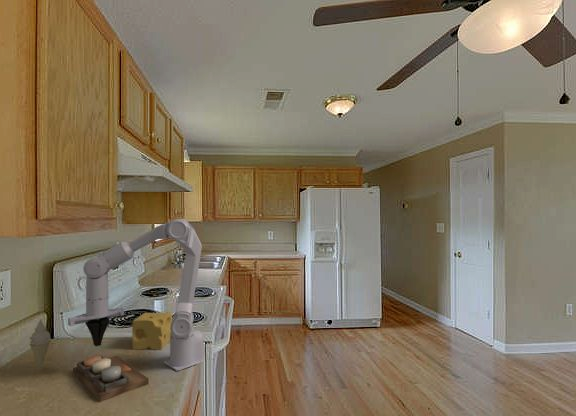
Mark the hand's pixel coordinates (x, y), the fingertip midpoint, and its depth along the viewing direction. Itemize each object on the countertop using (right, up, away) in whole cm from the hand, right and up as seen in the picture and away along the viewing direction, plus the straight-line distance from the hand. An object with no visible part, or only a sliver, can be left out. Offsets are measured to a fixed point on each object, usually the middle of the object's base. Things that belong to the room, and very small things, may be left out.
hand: (97, 345), depth 103 cm
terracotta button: (-1, -6, -1) cm, 6 cm away
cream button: (+4, -4, -6) cm, 9 cm away
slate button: (+9, -4, -11) cm, 15 cm away
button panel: (+6, -8, -4) cm, 10 cm away
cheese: (+8, -8, +21) cm, 24 cm away
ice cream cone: (-17, -8, +1) cm, 19 cm away
